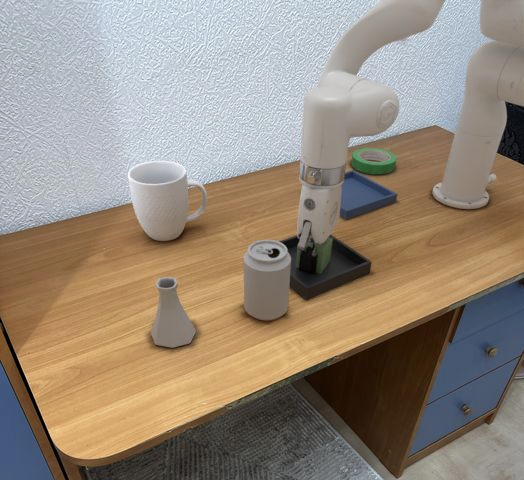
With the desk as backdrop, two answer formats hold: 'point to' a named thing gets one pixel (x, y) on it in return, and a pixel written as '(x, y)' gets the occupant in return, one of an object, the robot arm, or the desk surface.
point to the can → (266, 279)
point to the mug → (162, 198)
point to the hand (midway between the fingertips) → (313, 263)
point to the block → (320, 254)
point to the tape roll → (373, 167)
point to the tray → (362, 195)
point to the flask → (171, 317)
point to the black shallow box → (326, 269)
